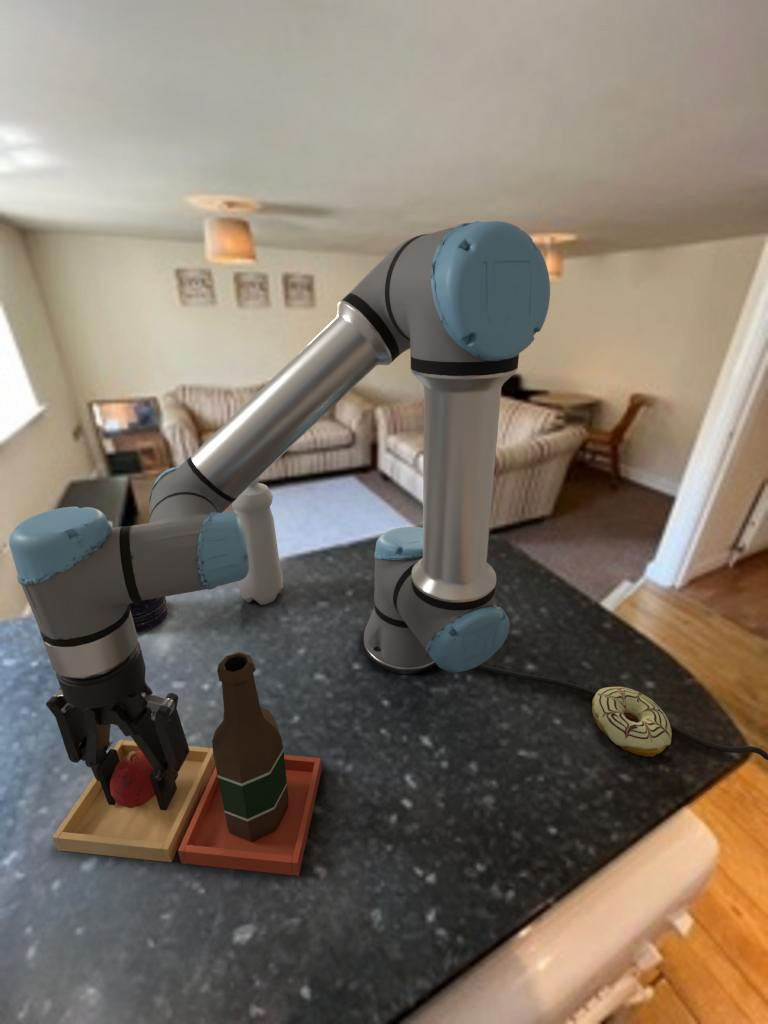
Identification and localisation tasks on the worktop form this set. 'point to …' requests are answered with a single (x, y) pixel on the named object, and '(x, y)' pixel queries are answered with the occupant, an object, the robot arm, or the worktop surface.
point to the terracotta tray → (267, 854)
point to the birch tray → (136, 815)
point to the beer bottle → (248, 755)
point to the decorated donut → (637, 736)
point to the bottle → (259, 545)
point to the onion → (132, 781)
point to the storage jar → (148, 613)
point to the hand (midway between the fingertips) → (143, 796)
